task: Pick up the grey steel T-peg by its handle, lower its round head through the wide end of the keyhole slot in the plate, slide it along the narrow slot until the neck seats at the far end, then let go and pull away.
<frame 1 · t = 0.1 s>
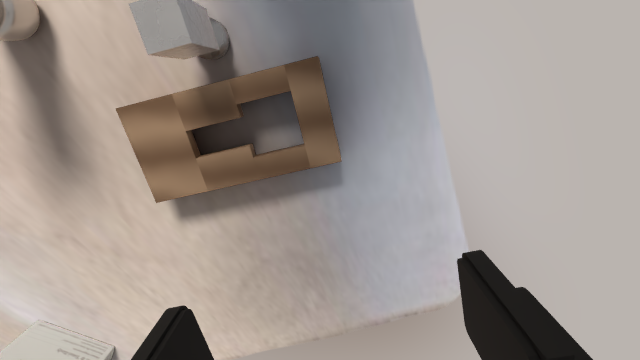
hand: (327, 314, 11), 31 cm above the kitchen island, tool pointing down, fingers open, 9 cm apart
keyhole plate: (239, 129, 40), on the kitchen island
supplement box: (72, 357, 54), on the kitchen island
plastic bottle: (22, 14, 37), on the kitchen island
steel peg: (211, 39, 37), on the kitchen island
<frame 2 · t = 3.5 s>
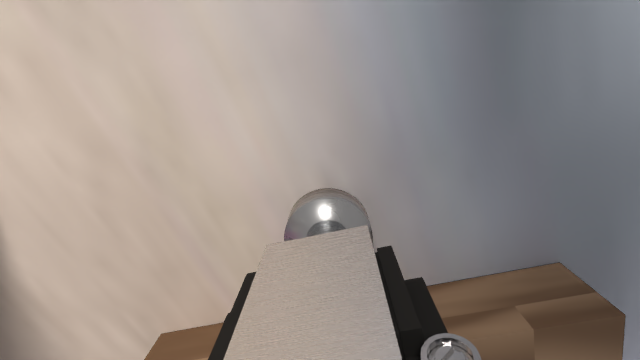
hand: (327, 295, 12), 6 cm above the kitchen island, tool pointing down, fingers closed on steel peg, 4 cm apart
steel peg: (328, 226, 17), on the kitchen island, touching gripper
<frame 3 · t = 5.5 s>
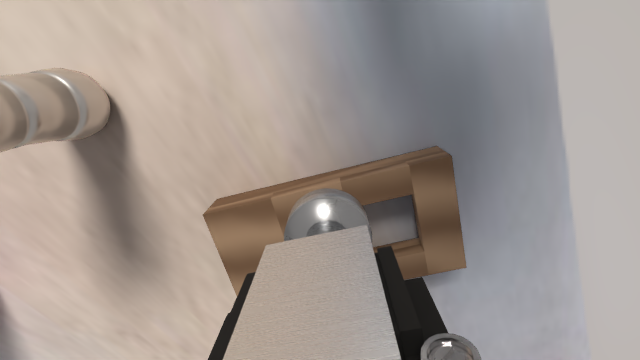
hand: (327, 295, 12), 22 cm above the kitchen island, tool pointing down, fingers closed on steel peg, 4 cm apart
keyhole plate: (336, 223, 35), on the kitchen island
plastic bottle: (88, 102, 31), on the kitchen island
steel peg: (327, 226, 17), point 16 cm above the kitchen island, touching gripper
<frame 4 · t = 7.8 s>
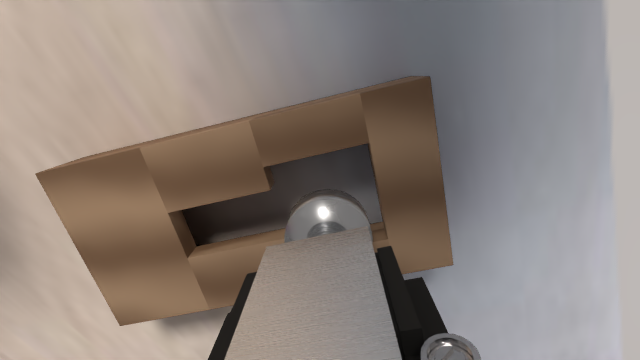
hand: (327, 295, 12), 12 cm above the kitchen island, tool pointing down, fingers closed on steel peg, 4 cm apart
keyhole plate: (263, 197, 23), on the kitchen island
steel peg: (328, 227, 17), point 6 cm above the kitchen island, touching gripper
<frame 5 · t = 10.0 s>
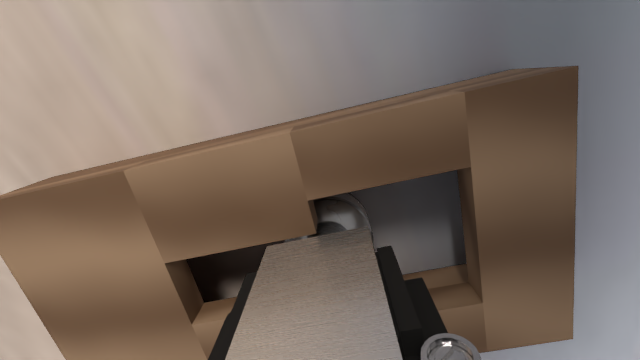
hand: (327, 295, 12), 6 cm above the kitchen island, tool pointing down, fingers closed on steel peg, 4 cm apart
keyhole plate: (294, 232, 17), on the kitchen island
steel peg: (328, 227, 17), on the kitchen island, touching gripper
when the fingers open (6 cm above the kitchen island, at t = 12.2 s): steel peg stays where it is, on the kitchen island.
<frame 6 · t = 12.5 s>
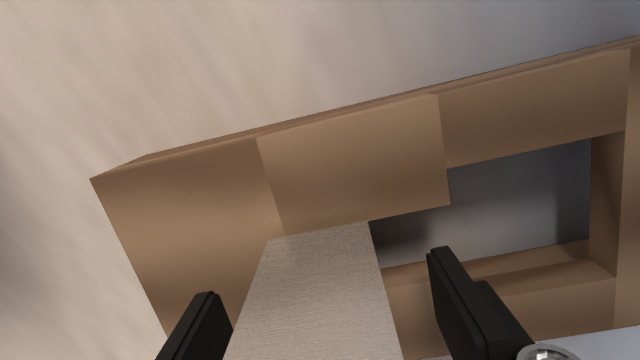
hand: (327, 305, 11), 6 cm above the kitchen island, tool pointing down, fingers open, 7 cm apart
keyhole plate: (392, 210, 17), on the kitchen island
steel peg: (328, 223, 17), on the kitchen island
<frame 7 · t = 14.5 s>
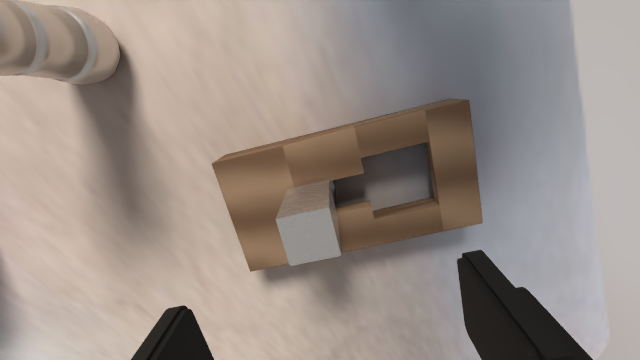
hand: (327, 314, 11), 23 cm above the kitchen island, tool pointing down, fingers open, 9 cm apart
keyhole plate: (347, 181, 34), on the kitchen island
plastic bottle: (97, 50, 31), on the kitchen island
steel peg: (315, 188, 34), on the kitchen island
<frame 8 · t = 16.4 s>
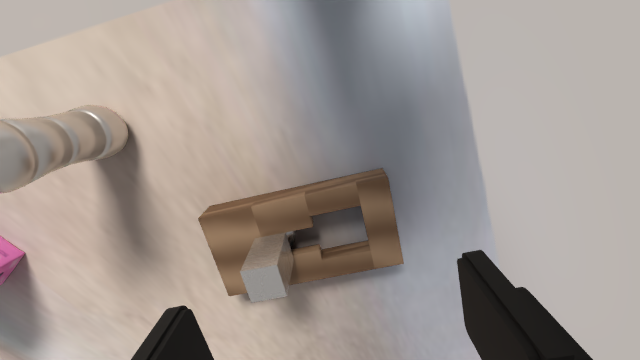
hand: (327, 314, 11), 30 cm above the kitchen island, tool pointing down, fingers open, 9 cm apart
keyhole plate: (304, 227, 43), on the kitchen island
plastic bottle: (110, 129, 40), on the kitchen island
steel peg: (280, 231, 44), on the kitchen island
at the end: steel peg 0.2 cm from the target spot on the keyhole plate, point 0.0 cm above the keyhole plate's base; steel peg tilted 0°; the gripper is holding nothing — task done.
